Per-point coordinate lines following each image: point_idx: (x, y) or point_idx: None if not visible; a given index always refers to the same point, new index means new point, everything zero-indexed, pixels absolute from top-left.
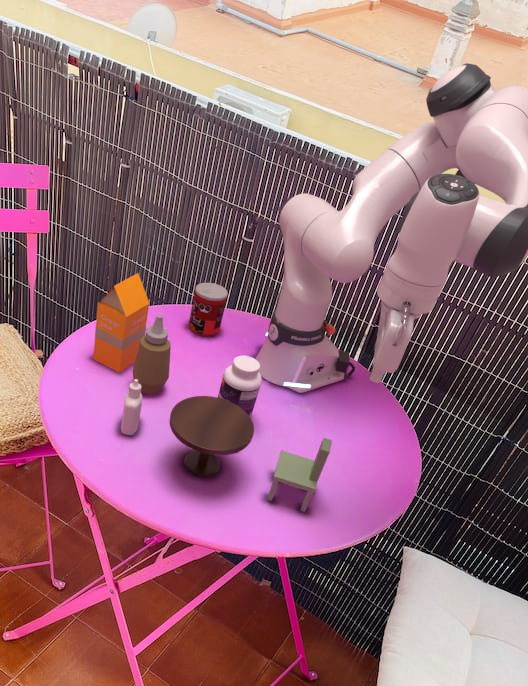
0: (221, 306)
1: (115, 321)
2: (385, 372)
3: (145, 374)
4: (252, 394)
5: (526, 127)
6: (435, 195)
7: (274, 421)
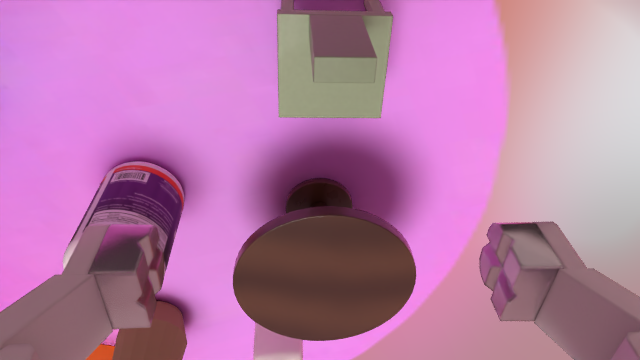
0: None
1: None
2: (631, 293)
3: (181, 356)
4: None
5: None
6: None
7: (89, 109)
